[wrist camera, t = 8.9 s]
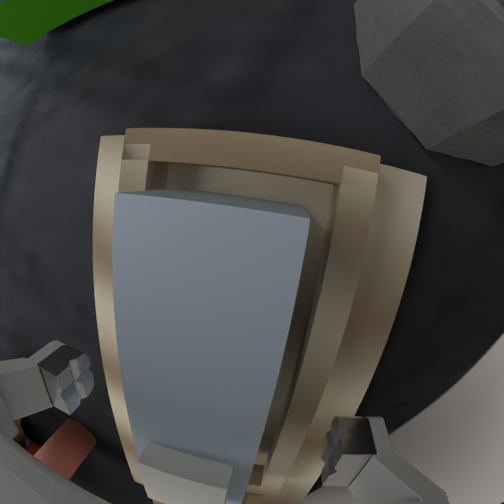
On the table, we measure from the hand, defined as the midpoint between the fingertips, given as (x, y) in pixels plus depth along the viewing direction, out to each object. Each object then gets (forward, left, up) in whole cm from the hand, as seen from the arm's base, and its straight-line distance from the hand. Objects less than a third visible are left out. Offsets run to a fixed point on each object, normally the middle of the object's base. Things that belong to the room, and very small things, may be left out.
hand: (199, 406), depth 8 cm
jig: (+4, 0, -4) cm, 5 cm away
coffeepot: (-14, +7, -4) cm, 17 cm away
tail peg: (+13, -11, -4) cm, 17 cm away
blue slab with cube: (0, 0, -3) cm, 3 cm away
